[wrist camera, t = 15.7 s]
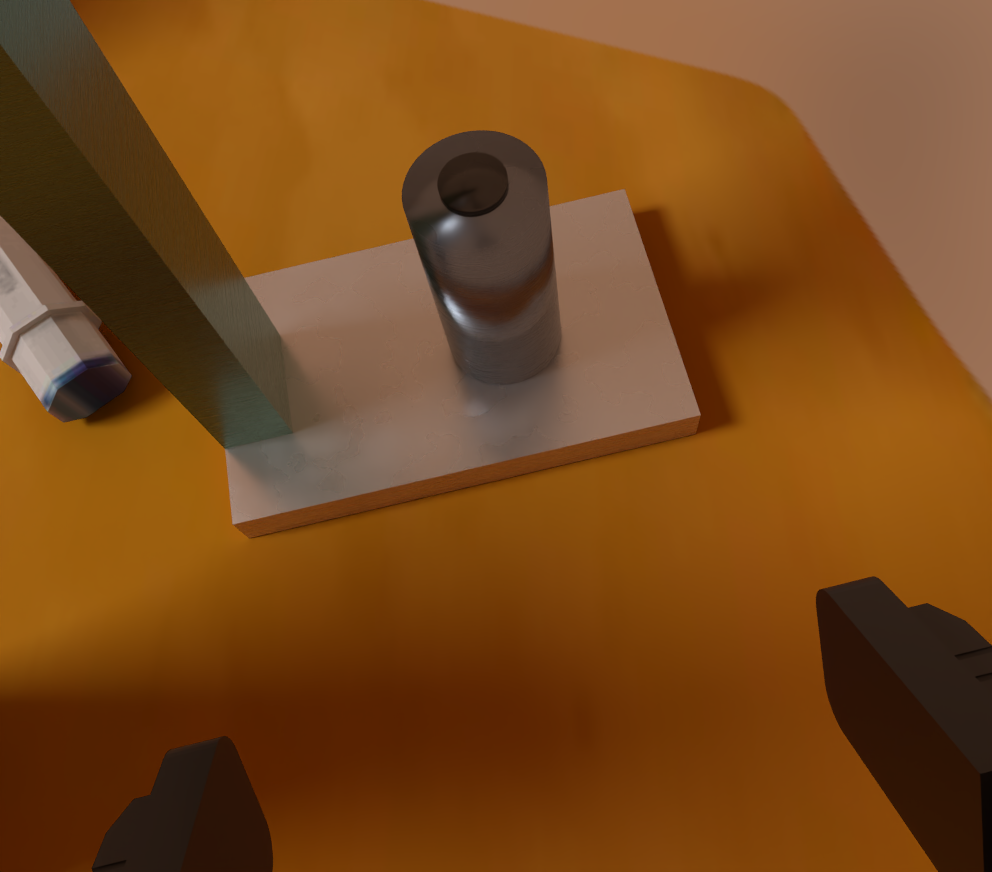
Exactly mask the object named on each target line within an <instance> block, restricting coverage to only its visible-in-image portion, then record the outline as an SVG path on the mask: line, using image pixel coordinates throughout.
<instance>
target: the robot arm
mask: <svg viewBox="0 0 992 872" xmlns="http://www.w3.org/2000/svg"><path fill="white" fill-rule="evenodd" d="M816 608H817V617H818V626H819V634H820V643H821V652H822V661H823V670H824V679H825V686H826V691H827V695H828V699H829V702H830V705H831V708H832V710H833V713H834V715H835V718H836V720H837V722H838V724H839V726H840V728H841V730H842V731H843V733H844V734H845V736H846V737H847V739H848V740H849V742H850V743H851V745H852V746H853V748H854V749H855V750H856V752H857V753H858V755H859V756H860V758H861V759H862V761H863V762H864V764H865V765H866V767H867V768H868V769H869V771H870V772H871V774H872V775H873V777H874V778H875V780H876V781H877V783H878V784H879V786H880V787H881V789H882V790H883V791H884V793H885V794H886V796H887V797H888V799H889V800H890V802H891V803H892V805H893V806H894V808H895V809H896V810H897V812H898V813H899V815H900V816H901V818H902V819H903V821H904V822H905V824H906V825H907V827H908V828H909V830H910V831H911V832H912V834H913V835H914V837H915V838H916V840H917V841H918V843H919V844H920V846H921V847H922V849H923V850H924V851H925V853H926V854H927V856H928V857H929V859H930V860H931V862H932V863H933V865H934V866H935V868H936V869H937V871H938V872H992V645H991V644H989V643H988V642H987V641H986V640H985V639H984V638H983V637H982V636H981V635H980V634H979V633H978V632H977V631H976V630H975V629H974V628H973V627H971V626H970V625H969V624H968V623H967V622H966V621H965V620H963V619H960V618H958V617H956V616H954V615H952V614H950V613H947V612H945V611H943V610H941V609H939V608H937V607H934V606H932V605H930V604H928V603H926V604H922V605H918V606H914V607H910V608H907V607H906V605H905V604H904V603H903V602H902V601H901V600H900V599H899V598H898V597H897V596H896V595H895V594H894V593H893V592H892V591H891V590H890V589H889V588H888V587H887V586H886V585H885V584H884V583H883V582H882V581H881V580H880V579H879V578H877V577H874V576H873V577H869V578H865V579H861V580H856V581H852V582H848V583H844V584H840V585H836V586H832V587H828V588H824V589H820V590H819V591H818V592H817V596H816ZM272 869H273V853H272V843H271V837H270V832H269V828H268V825H267V822H266V819H265V817H264V814H263V812H262V810H261V807H260V805H259V802H258V800H257V798H256V795H255V793H254V790H253V788H252V786H251V783H250V781H249V778H248V776H247V774H246V771H245V769H244V766H243V764H242V762H241V759H240V757H239V754H238V752H237V750H236V748H235V745H234V744H233V742H232V741H231V740H230V739H229V738H228V737H226V736H223V737H219V738H215V739H211V740H207V741H203V742H199V743H195V744H191V745H187V746H183V747H179V748H175V749H171V750H169V751H168V752H167V753H166V755H165V757H164V759H163V762H162V764H161V767H160V770H159V773H158V775H157V778H156V781H155V784H154V786H153V789H152V792H151V795H148V796H144V797H140V798H136V799H134V800H133V801H132V802H131V803H130V804H129V806H128V807H127V808H126V809H125V811H124V812H123V813H122V814H121V815H120V817H119V818H118V819H117V820H116V822H115V823H114V824H113V825H112V827H111V828H110V829H109V830H108V831H107V833H106V835H105V837H104V839H103V842H102V844H101V847H100V849H99V852H98V854H97V857H96V859H95V862H94V864H93V867H92V871H93V872H272Z"/></svg>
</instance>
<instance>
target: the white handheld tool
mask: <svg viewBox="0 0 992 872" xmlns="http://www.w3.org/2000/svg"><path fill="white" fill-rule="evenodd" d="M101 323H102V321H101V320H100V318H99V317H98V316H97V315H96V314H95V313H94V312H93V311H92V310H91V309H90V308H89V307H88V306H87V305H86V304H85V303H84V302H83V301H76V299H75V298H74V297H73V295H72V294H71V293H70V292H69V290H68V289H67V288H66V286H65V285H64V284H63V282H62V281H61V280H60V279H59V277H58V276H57V275H56V273H55V272H54V271H53V270H52V269H51V268H50V267H49V266H48V265H47V263H46V262H45V261H44V260H43V259H42V258H41V257H40V256H39V255H38V254H37V253H36V252H35V251H34V250H33V249H32V248H31V247H30V246H29V245H28V244H27V243H26V242H25V241H24V240H23V239H22V238H21V237H20V235H19V234H18V233H17V232H16V231H15V230H14V229H13V228H12V227H11V226H10V225H9V224H8V223H7V222H6V221H5V220H4V219H3V218H2V217H1V216H0V342H1V343H2V345H3V346H2V348H1V351H0V358H1V359H2V361H4V362H5V363H6V364H8V365H9V366H11V367H12V368H14V369H15V370H16V371H18V372H19V373H21V374H22V375H23V376H24V378H25V379H26V381H27V382H28V384H29V385H30V387H31V388H32V390H33V391H34V392H35V394H36V395H37V397H38V398H39V400H40V401H41V403H42V404H43V406H44V407H45V409H46V410H47V411H48V412H49V413H50V414H52V415H53V416H55V417H56V418H58V419H59V420H61V421H62V422H68V421H72V420H77V419H81V418H86V417H88V416H89V415H91V414H92V413H93V412H95V411H96V410H98V409H99V408H101V407H102V406H104V405H105V404H107V403H108V402H109V401H111V400H112V399H114V398H115V397H117V396H118V395H120V394H121V393H122V392H124V390H125V388H126V386H127V384H128V382H129V380H130V378H131V376H132V375H131V374H130V373H129V371H128V370H127V368H126V367H125V366H124V364H123V363H122V361H121V360H120V359H119V357H118V356H117V355H116V353H115V352H114V350H113V349H112V348H111V346H110V345H109V344H108V342H107V341H106V339H105V338H104V337H103V335H102V334H101V332H100V331H99V327H100V325H101Z"/></svg>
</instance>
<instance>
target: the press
mask: <svg viewBox="0 0 992 872" xmlns="http://www.w3.org/2000/svg"><path fill="white" fill-rule="evenodd" d="M0 216H1V217H2V218H3V219H4V220H5V221H6V222H7V223H8V224H9V225H10V226H11V227H12V228H13V229H14V230H15V231H16V232H17V233H18V234H19V235H20V237H21V238H22V239H23V240H24V241H25V242H26V243H27V244H28V245H29V246H30V247H31V248H32V249H33V250H34V251H35V252H36V253H37V254H38V255H39V256H40V257H41V258H42V259H43V260H44V261H45V262H46V263H47V265H48V266H49V267H50V268H51V269H52V270H53V271H54V272H55V273H56V274H57V275H58V276H59V277H60V278H61V279H62V280H63V281H64V282H65V283H66V284H67V285H68V286H69V287H70V288H71V289H72V290H73V292H74V293H75V294H76V295H77V296H78V297H79V298H80V299H81V300H82V301H83V302H84V303H85V304H86V305H87V306H88V307H89V308H90V309H91V310H92V311H93V312H94V313H95V314H96V315H97V316H98V317H99V318H100V320H101V321H102V322H103V323H104V324H105V325H106V326H107V327H108V328H109V329H110V330H111V331H112V332H113V333H114V334H115V335H116V336H117V337H118V338H119V339H120V340H121V341H122V342H123V343H124V344H125V345H126V346H127V348H128V349H129V350H130V351H131V352H132V353H133V354H134V355H135V356H136V357H137V358H138V359H139V360H140V361H141V362H142V363H143V364H144V365H145V366H146V367H147V368H148V369H149V370H150V371H151V372H152V373H153V374H154V376H155V377H156V378H157V379H158V380H159V381H160V382H161V383H162V384H163V385H164V386H165V387H166V388H167V389H168V390H169V391H170V392H171V393H172V394H173V395H174V396H175V397H176V398H177V399H178V400H179V401H180V402H181V404H182V405H183V406H184V407H185V408H186V409H187V410H188V411H189V412H190V413H191V414H192V415H193V416H194V417H195V418H196V419H197V420H198V421H199V422H200V423H201V424H202V425H203V426H204V427H205V428H206V429H207V431H208V432H209V433H210V434H211V435H212V436H213V437H214V438H215V439H216V440H217V441H218V442H219V443H220V444H221V445H222V446H223V447H224V448H225V451H226V461H227V471H228V481H229V491H230V501H231V511H232V522H233V525H234V526H235V527H236V528H238V529H239V530H240V531H241V532H242V533H243V534H245V535H246V536H247V537H248V538H253V537H257V536H261V535H266V534H270V533H274V532H278V531H283V530H287V529H291V528H295V527H300V526H304V525H308V524H313V523H317V522H321V521H325V520H330V519H334V518H338V517H343V516H347V515H351V514H355V513H360V512H364V511H368V510H372V509H377V508H381V507H385V506H390V505H394V504H398V503H402V502H407V501H411V500H415V499H420V498H424V497H428V496H432V495H437V494H441V493H445V492H449V491H454V490H458V489H462V488H467V487H471V486H475V485H479V484H484V483H488V482H492V481H497V480H501V479H505V478H509V477H514V476H518V475H522V474H526V473H531V472H535V471H539V470H544V469H548V468H552V467H556V466H561V465H565V464H569V463H574V462H578V461H582V460H586V459H591V458H595V457H599V456H604V455H608V454H612V453H616V452H621V451H625V450H629V449H633V448H638V447H642V446H646V445H651V444H655V443H659V442H663V441H668V440H672V439H676V438H681V437H685V436H689V435H693V434H696V431H697V427H698V424H699V420H700V416H701V414H700V411H699V408H698V405H697V402H696V399H695V396H694V393H693V390H692V387H691V384H690V381H689V378H688V375H687V372H686V370H685V367H684V364H683V361H682V358H681V355H680V352H679V349H678V346H677V343H676V340H675V337H674V334H673V331H672V328H671V325H670V322H669V319H668V316H667V313H666V310H665V307H664V304H663V301H662V298H661V295H660V293H659V290H658V287H657V284H656V281H655V278H654V275H653V272H652V269H651V266H650V263H649V260H648V257H647V254H646V251H645V248H644V245H643V242H642V239H641V236H640V233H639V230H638V227H637V224H636V221H635V219H634V216H633V213H632V210H631V207H630V204H629V201H628V198H627V195H626V192H625V189H623V190H619V191H614V192H610V193H606V194H601V195H597V196H593V197H589V198H584V199H580V200H576V201H572V202H567V203H563V204H559V205H554V206H550V217H551V228H552V238H553V248H554V259H555V269H556V279H557V290H558V300H559V310H560V321H561V341H560V345H559V348H558V350H557V353H556V354H555V356H554V358H553V359H552V360H551V362H550V363H549V364H548V365H547V366H546V367H545V368H544V369H543V370H542V371H541V372H539V373H538V374H536V375H535V376H533V377H531V378H529V379H527V380H525V381H521V382H518V383H513V384H505V385H498V384H490V383H486V382H482V381H479V380H477V379H475V378H473V377H471V376H470V375H468V374H467V373H466V372H464V371H463V370H462V369H461V368H460V367H459V365H458V364H457V363H456V361H455V360H454V358H453V356H452V353H451V350H450V347H449V344H448V341H447V338H446V335H445V332H444V329H443V326H442V323H441V320H440V317H439V314H438V311H437V308H436V305H435V302H434V299H433V296H432V293H431V290H430V287H429V284H428V281H427V278H426V275H425V272H424V269H423V266H422V263H421V260H420V256H419V253H418V250H417V247H416V244H415V241H414V239H409V240H405V241H401V242H396V243H392V244H388V245H384V246H379V247H375V248H371V249H367V250H362V251H358V252H354V253H350V254H345V255H341V256H337V257H332V258H328V259H324V260H320V261H315V262H311V263H307V264H303V265H298V266H294V267H290V268H285V269H281V270H277V271H273V272H268V273H264V274H260V275H256V276H251V277H247V278H244V277H243V275H242V274H241V272H240V271H239V269H238V268H237V266H236V264H235V263H234V261H233V260H232V258H231V256H230V255H229V253H228V252H227V250H226V248H225V247H224V245H223V244H222V242H221V241H220V239H219V237H218V236H217V234H216V233H215V231H214V229H213V228H212V226H211V225H210V223H209V221H208V220H207V218H206V217H205V215H204V213H203V212H202V210H201V209H200V207H199V206H198V204H197V202H196V201H195V199H194V198H193V196H192V194H191V193H190V191H189V190H188V188H187V186H186V185H185V183H184V182H183V180H182V179H181V177H180V175H179V174H178V172H177V171H176V169H175V167H174V166H173V164H172V163H171V161H170V159H169V158H168V156H167V155H166V153H165V151H164V150H163V148H162V147H161V145H160V144H159V142H158V140H157V139H156V137H155V136H154V134H153V132H152V131H151V129H150V128H149V126H148V124H147V123H146V121H145V120H144V118H143V117H142V115H141V113H140V112H139V110H138V109H137V107H136V105H135V104H134V102H133V101H132V99H131V97H130V96H129V94H128V93H127V91H126V89H125V88H124V86H123V85H122V83H121V82H120V80H119V78H118V77H117V75H116V74H115V72H114V70H113V69H112V67H111V66H110V64H109V62H108V61H107V59H106V58H105V56H104V55H103V53H102V51H101V50H100V48H99V47H98V45H97V43H96V42H95V40H94V39H93V37H92V35H91V34H90V32H89V31H88V29H87V27H86V26H85V24H84V23H83V21H82V20H81V18H80V16H79V15H78V13H77V12H76V10H75V8H74V7H73V5H72V4H71V2H70V0H0Z"/></svg>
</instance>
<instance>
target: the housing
mask: <svg viewBox="0 0 992 872" xmlns="http://www.w3.org/2000/svg"><path fill="white" fill-rule="evenodd" d="M402 202H403V208H404V211H405V214H406V217H407V220H408V223H409V226H410V229H411V232H412V235H413V238H414V241H415V244H416V247H417V250H418V253H419V256H420V260H421V263H422V266H423V269H424V272H425V275H426V278H427V281H428V284H429V287H430V290H431V293H432V296H433V299H434V302H435V305H436V308H437V311H438V314H439V317H440V320H441V323H442V326H443V329H444V332H445V335H446V338H447V341H448V344H449V347H450V350H451V353H452V356H453V358H454V360H455V361H456V363H457V364H458V365H459V367H460V368H461V369H462V370H463V371H464V372H466V373H467V374H468V375H470V376H471V377H473V378H475V379H477V380H479V381H482V382H486V383H490V384H498V385H505V384H513V383H518V382H521V381H525V380H527V379H529V378H531V377H533V376H535V375H536V374H538V373H539V372H541V371H542V370H543V369H544V368H545V367H546V366H547V365H548V364H549V363H550V362H551V360H552V359H553V358H554V356H555V354H556V353H557V350H558V348H559V345H560V341H561V321H560V310H559V300H558V290H557V279H556V269H555V259H554V248H553V238H552V228H551V217H550V207H549V197H548V186H547V177H546V172H545V169H544V166H543V164H542V162H541V160H540V158H539V157H538V155H537V154H536V153H535V152H534V151H533V150H532V149H531V148H530V147H529V146H528V145H527V144H525V143H524V142H522V141H521V140H519V139H517V138H515V137H513V136H510V135H507V134H504V133H500V132H495V131H468V132H463V133H459V134H455V135H452V136H449V137H447V138H445V139H442V140H441V141H439V142H437V143H435V144H433V145H432V146H431V147H429V148H428V149H426V150H425V151H424V152H423V153H422V154H421V155H420V156H419V157H418V158H417V159H416V160H415V162H414V163H413V164H412V166H411V167H410V169H409V171H408V173H407V175H406V178H405V180H404V184H403V189H402Z"/></svg>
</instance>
